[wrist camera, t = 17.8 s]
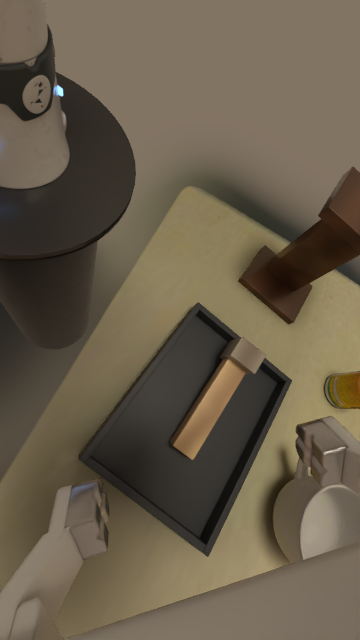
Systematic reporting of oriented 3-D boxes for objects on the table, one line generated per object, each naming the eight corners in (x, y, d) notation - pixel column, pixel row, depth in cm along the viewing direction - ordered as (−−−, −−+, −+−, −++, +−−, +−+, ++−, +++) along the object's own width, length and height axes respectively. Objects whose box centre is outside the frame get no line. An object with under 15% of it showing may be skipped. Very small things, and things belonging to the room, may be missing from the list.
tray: (78, 455, 32) (78, 459, 30) (191, 307, 42) (198, 301, 40) (199, 547, 33) (208, 557, 31) (281, 382, 43) (292, 380, 41)
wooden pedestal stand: (238, 281, 46) (328, 206, 30) (261, 248, 50) (353, 166, 33) (288, 324, 47) (405, 275, 30) (307, 289, 51) (420, 228, 34)
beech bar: (165, 439, 35) (172, 445, 32) (232, 337, 40) (244, 333, 37) (191, 458, 35) (200, 466, 32) (254, 354, 40) (268, 352, 37)
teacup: (332, 561, 38) (393, 597, 30) (261, 570, 35) (309, 611, 27) (321, 446, 42) (371, 453, 35) (257, 444, 39) (297, 452, 32)
